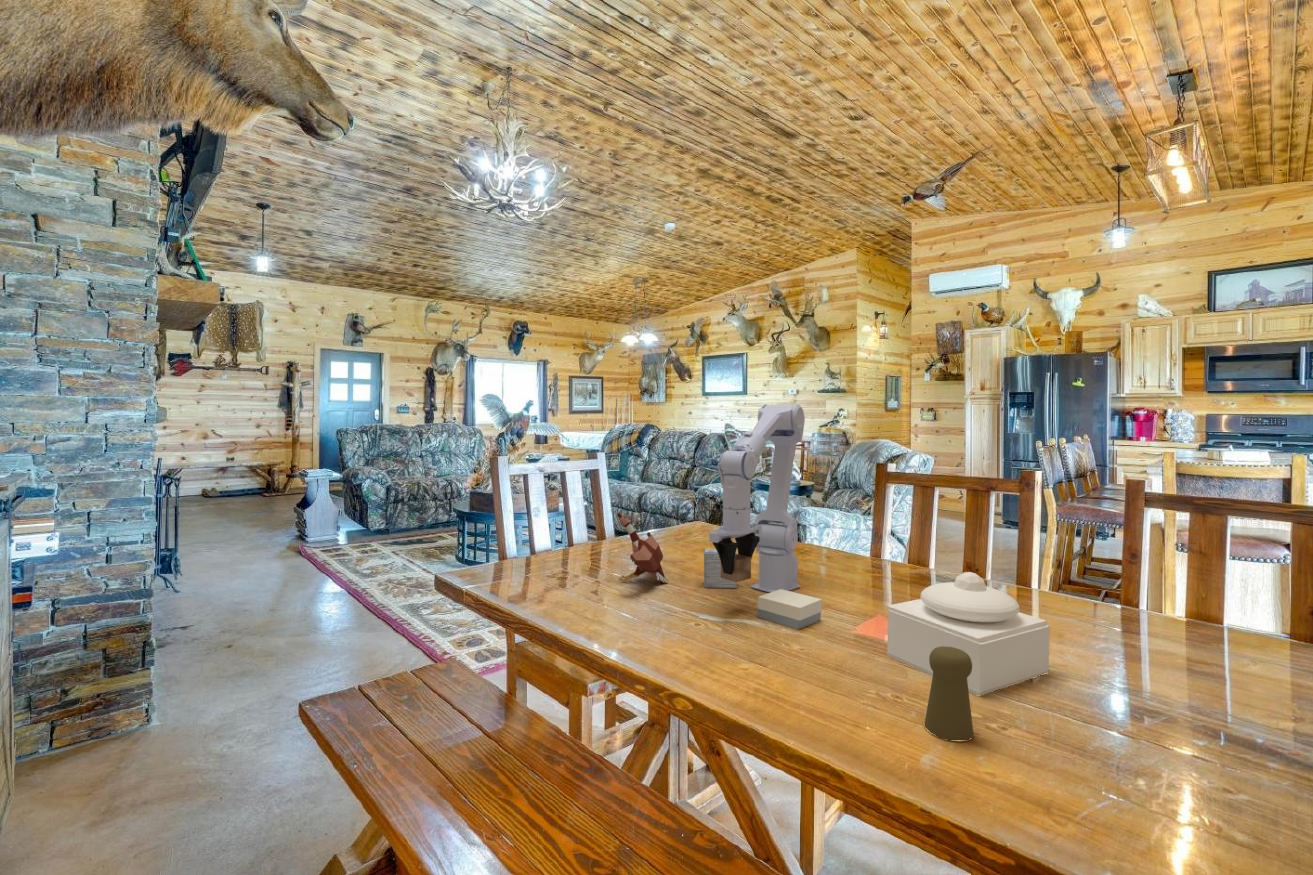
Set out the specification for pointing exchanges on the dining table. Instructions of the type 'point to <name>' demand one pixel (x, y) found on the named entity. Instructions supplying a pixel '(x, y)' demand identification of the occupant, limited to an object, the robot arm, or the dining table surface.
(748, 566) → the walnut cube
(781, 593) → the tower top block
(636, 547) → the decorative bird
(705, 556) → the gray wood grain block
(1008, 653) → the white saucer-topped box
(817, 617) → the tower base block
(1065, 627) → the dining table surface
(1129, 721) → the dining table surface
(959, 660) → the dark olive pawn
